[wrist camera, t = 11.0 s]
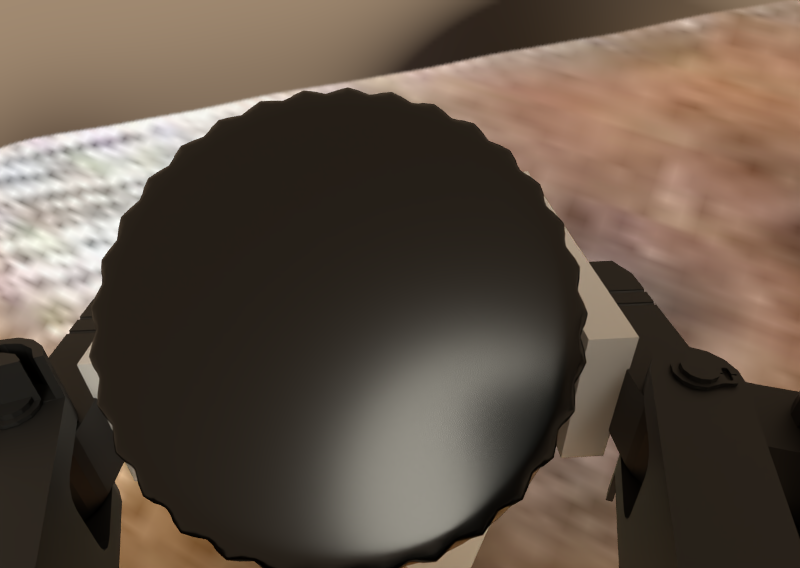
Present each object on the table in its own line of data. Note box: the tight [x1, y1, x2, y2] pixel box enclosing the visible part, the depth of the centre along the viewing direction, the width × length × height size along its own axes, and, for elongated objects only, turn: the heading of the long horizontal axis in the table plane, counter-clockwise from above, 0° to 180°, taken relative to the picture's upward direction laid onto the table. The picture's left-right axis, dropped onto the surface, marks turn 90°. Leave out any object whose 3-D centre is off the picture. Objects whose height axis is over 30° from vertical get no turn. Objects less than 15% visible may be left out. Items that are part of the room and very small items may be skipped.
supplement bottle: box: [89, 88, 588, 568], centre depth 11 cm, size 7×7×12 cm
